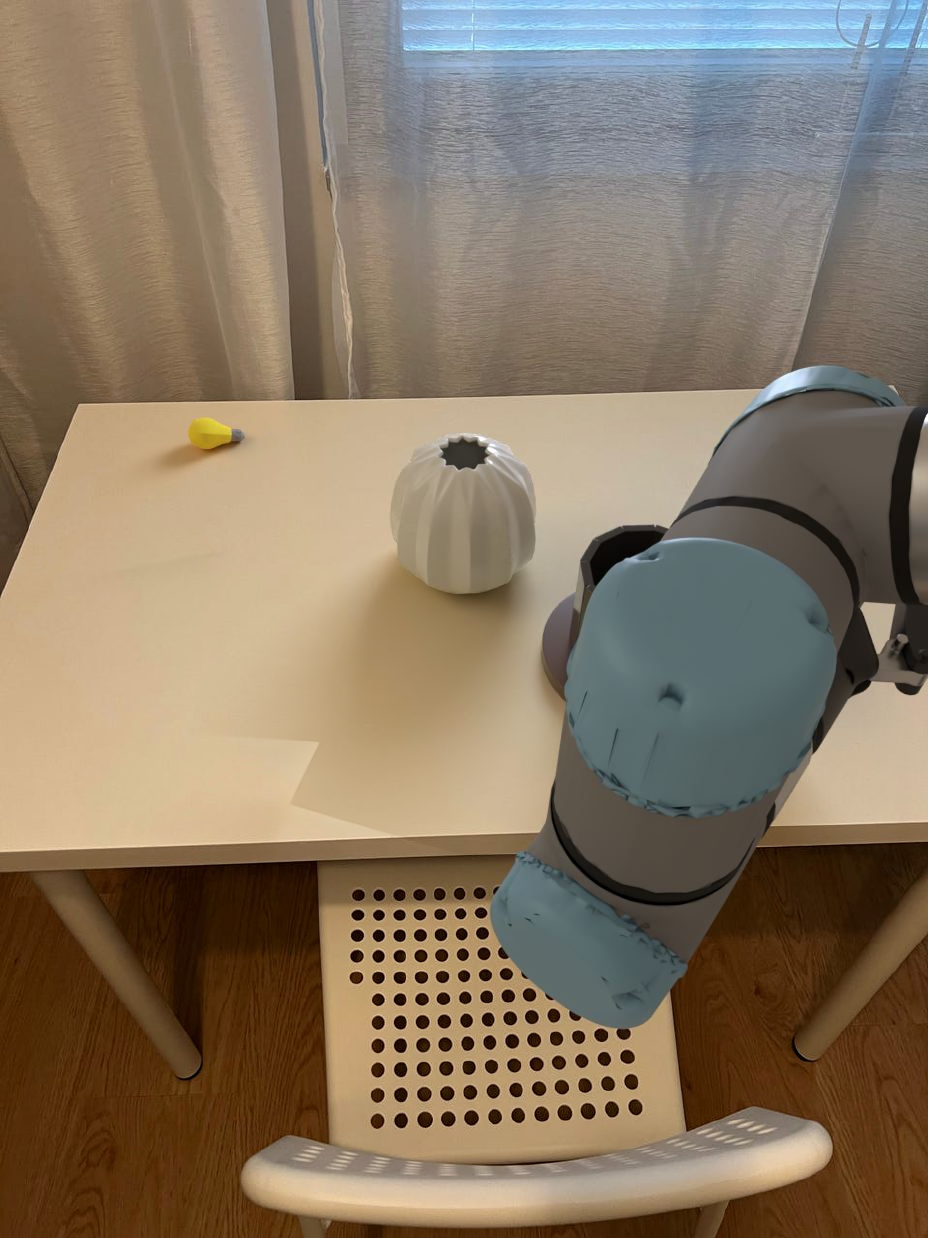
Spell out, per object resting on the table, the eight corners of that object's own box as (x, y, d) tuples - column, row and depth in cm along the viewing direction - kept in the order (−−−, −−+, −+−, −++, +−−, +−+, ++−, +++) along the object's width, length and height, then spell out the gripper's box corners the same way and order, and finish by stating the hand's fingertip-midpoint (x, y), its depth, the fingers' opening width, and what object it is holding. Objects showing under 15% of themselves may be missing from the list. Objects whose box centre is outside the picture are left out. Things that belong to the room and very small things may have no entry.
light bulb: (185, 442, 104) (187, 411, 102) (240, 446, 106) (243, 415, 104) (189, 453, 101) (190, 421, 99) (245, 456, 103) (248, 424, 102)
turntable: (730, 613, 88) (734, 602, 87) (707, 751, 78) (711, 741, 77) (563, 575, 91) (565, 564, 90) (521, 703, 81) (522, 693, 80)
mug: (653, 576, 89) (670, 501, 82) (767, 684, 80) (797, 610, 73) (546, 630, 84) (554, 555, 77) (654, 750, 76) (675, 678, 69)
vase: (533, 515, 96) (542, 407, 86) (531, 617, 87) (541, 510, 77) (400, 508, 97) (394, 401, 87) (384, 609, 88) (375, 502, 78)
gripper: (608, 692, 49) (797, 462, 62) (846, 829, 44) (1000, 548, 56) (629, 595, 43) (832, 364, 56) (905, 739, 38) (1061, 449, 51)
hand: (916, 456), depth 56 cm, fingers closed
